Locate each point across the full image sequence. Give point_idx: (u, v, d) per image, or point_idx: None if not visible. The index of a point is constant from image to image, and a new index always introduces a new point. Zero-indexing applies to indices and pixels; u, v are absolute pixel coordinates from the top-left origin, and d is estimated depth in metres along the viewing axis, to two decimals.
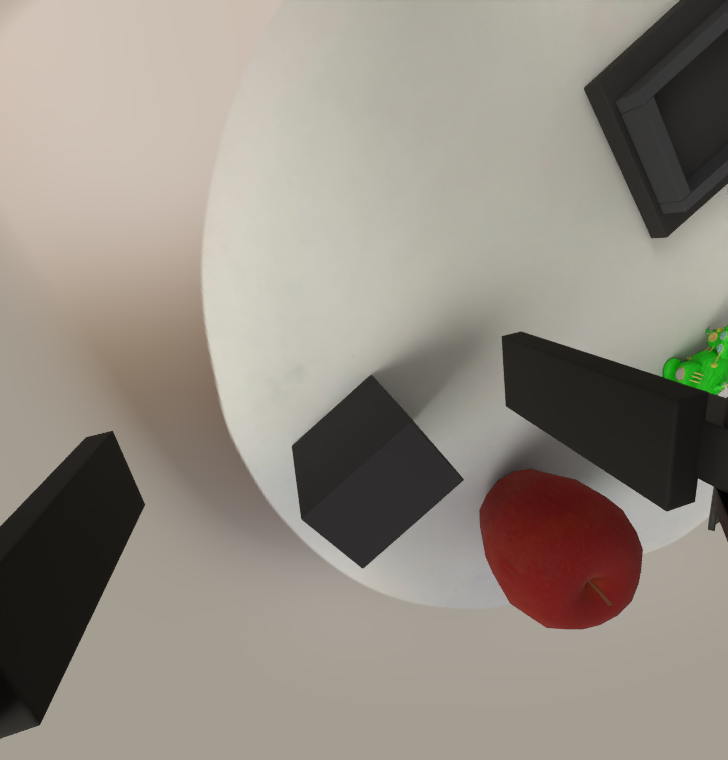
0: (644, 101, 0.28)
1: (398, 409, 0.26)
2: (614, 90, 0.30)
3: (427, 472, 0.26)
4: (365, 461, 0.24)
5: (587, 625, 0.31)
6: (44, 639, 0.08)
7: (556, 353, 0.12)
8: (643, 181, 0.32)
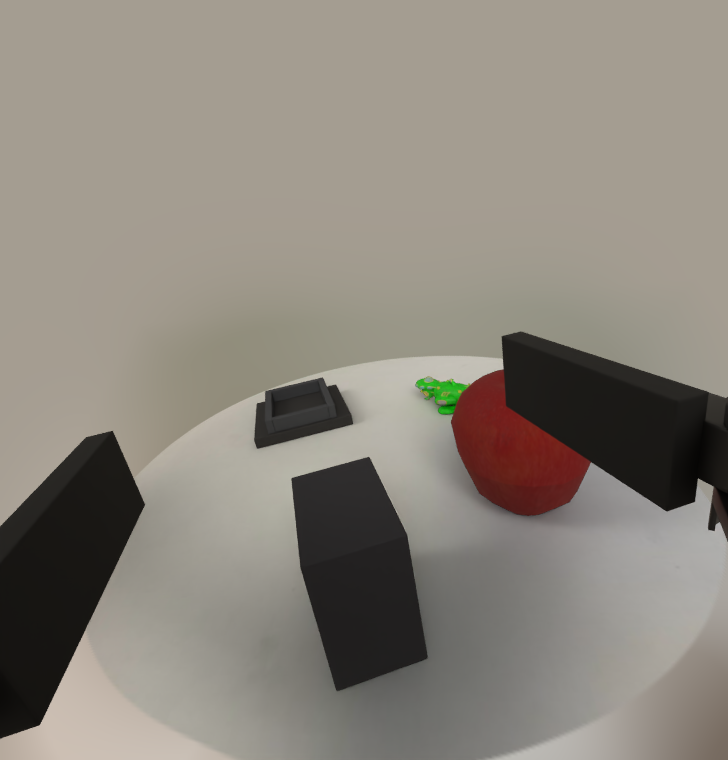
0: (271, 419, 0.57)
1: None
2: (263, 434, 0.57)
3: (341, 474, 0.29)
4: (294, 507, 0.26)
5: None
6: (44, 639, 0.08)
7: (556, 353, 0.12)
8: (313, 424, 0.58)
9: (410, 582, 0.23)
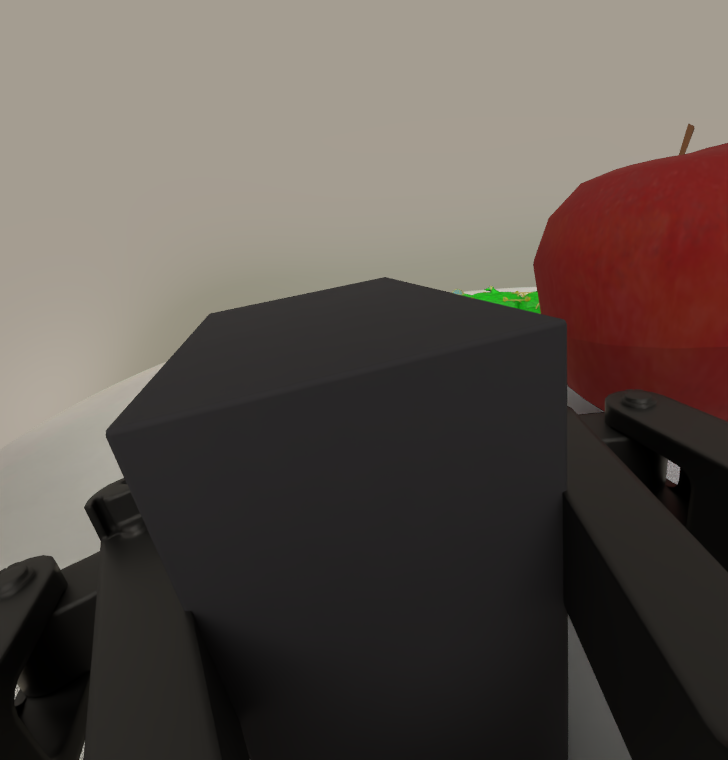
0: None
1: None
2: None
3: (324, 294, 0.12)
4: None
5: None
6: None
7: None
8: None
9: (554, 525, 0.07)
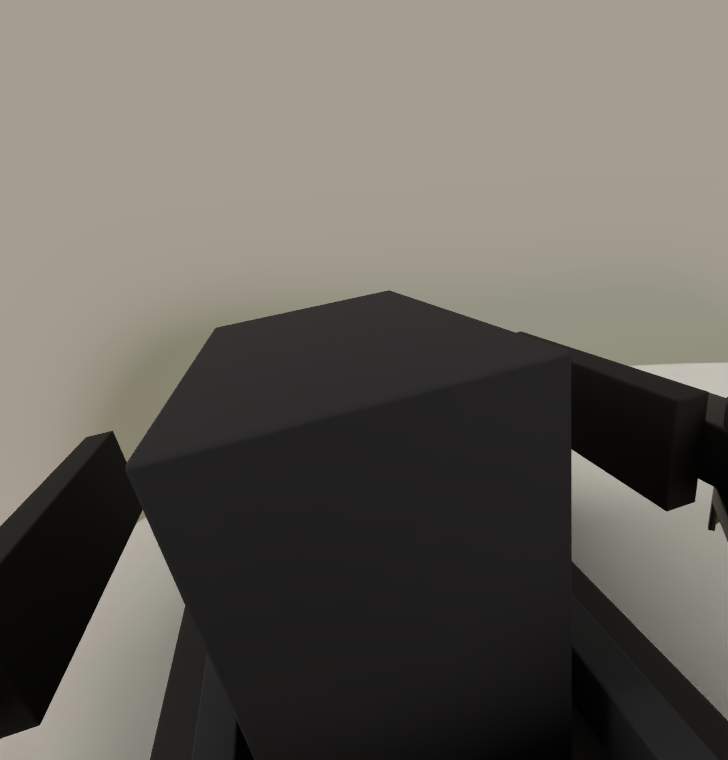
0: None
1: None
2: None
3: (329, 310, 0.12)
4: None
5: None
6: (44, 639, 0.08)
7: None
8: None
9: (558, 547, 0.07)
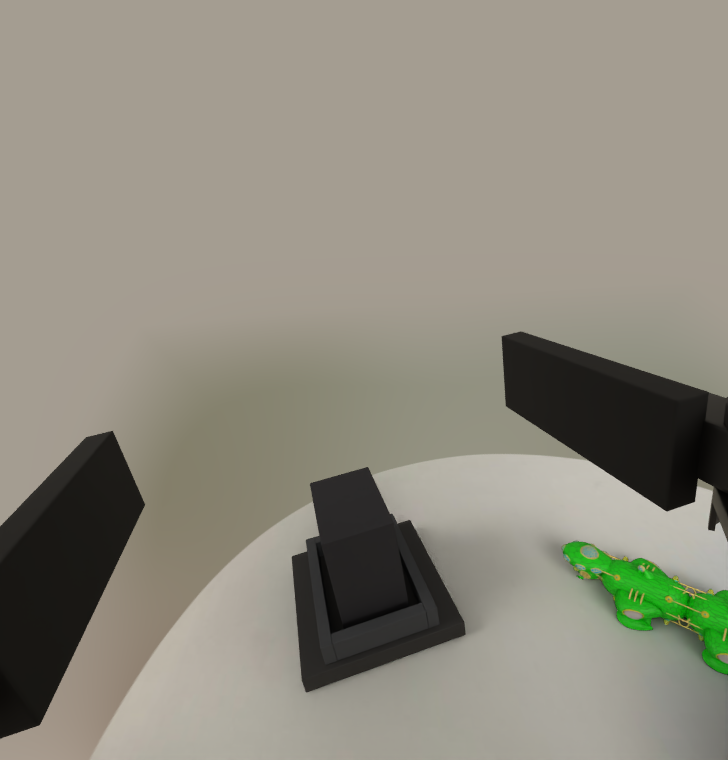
0: (330, 642, 0.32)
1: None
2: (317, 664, 0.33)
3: (347, 480, 0.39)
4: (314, 504, 0.37)
5: None
6: (44, 639, 0.08)
7: (556, 353, 0.12)
8: (402, 643, 0.33)
9: (396, 556, 0.34)
